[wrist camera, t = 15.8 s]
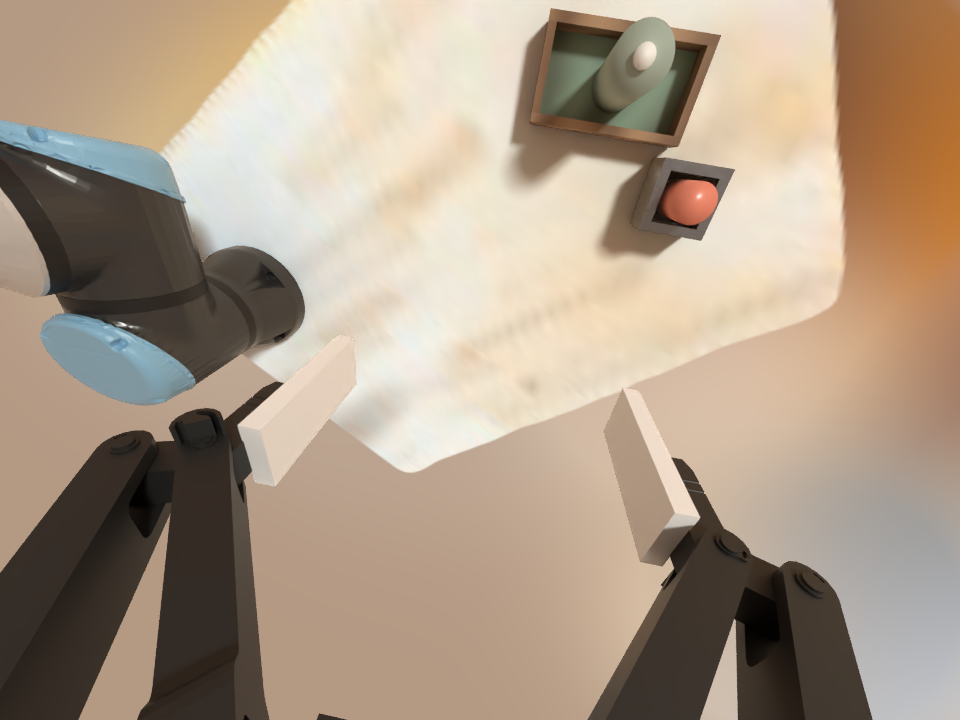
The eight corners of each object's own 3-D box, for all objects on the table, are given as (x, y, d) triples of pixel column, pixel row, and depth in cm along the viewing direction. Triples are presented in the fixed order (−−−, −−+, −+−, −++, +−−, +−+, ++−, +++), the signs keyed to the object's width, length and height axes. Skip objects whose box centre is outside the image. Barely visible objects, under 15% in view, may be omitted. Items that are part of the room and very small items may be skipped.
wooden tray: (529, 123, 38) (529, 121, 35) (549, 18, 33) (550, 8, 31) (669, 147, 37) (678, 146, 35) (708, 43, 33) (721, 35, 30)
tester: (629, 224, 41) (638, 229, 38) (653, 158, 38) (665, 157, 34) (687, 234, 41) (701, 240, 38) (716, 168, 37) (735, 169, 34)
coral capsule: (649, 213, 40) (666, 221, 35) (663, 175, 38) (684, 177, 33) (682, 220, 40) (705, 228, 34) (699, 182, 38) (726, 184, 32)
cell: (586, 109, 36) (604, 88, 27) (600, 52, 34) (626, 8, 25) (628, 116, 36) (662, 98, 27) (646, 60, 34) (689, 19, 24)
